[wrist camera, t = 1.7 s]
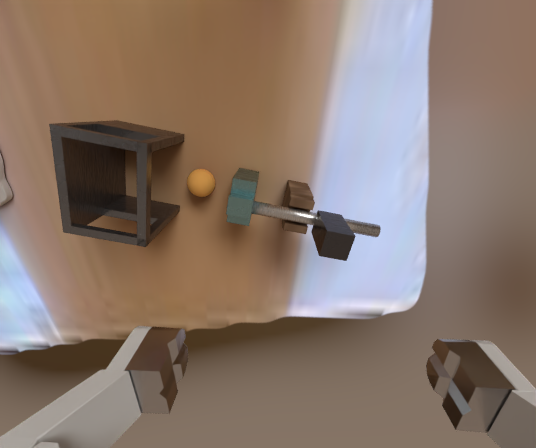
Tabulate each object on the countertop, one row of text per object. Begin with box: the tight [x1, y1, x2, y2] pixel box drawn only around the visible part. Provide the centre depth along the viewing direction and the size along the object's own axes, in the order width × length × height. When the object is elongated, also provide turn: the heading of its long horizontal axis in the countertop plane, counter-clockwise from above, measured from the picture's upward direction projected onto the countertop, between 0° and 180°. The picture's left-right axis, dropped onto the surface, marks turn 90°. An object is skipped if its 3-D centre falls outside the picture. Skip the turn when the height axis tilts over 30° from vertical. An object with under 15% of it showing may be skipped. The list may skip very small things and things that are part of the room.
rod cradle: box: [282, 180, 315, 234], centre depth 37 cm, size 3×5×8 cm, turn 169°
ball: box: [187, 169, 215, 197], centre depth 38 cm, size 4×4×4 cm
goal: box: [49, 120, 184, 247], centre depth 34 cm, size 10×12×12 cm
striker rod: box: [226, 168, 380, 261], centre depth 33 cm, size 20×6×14 cm, turn 79°
